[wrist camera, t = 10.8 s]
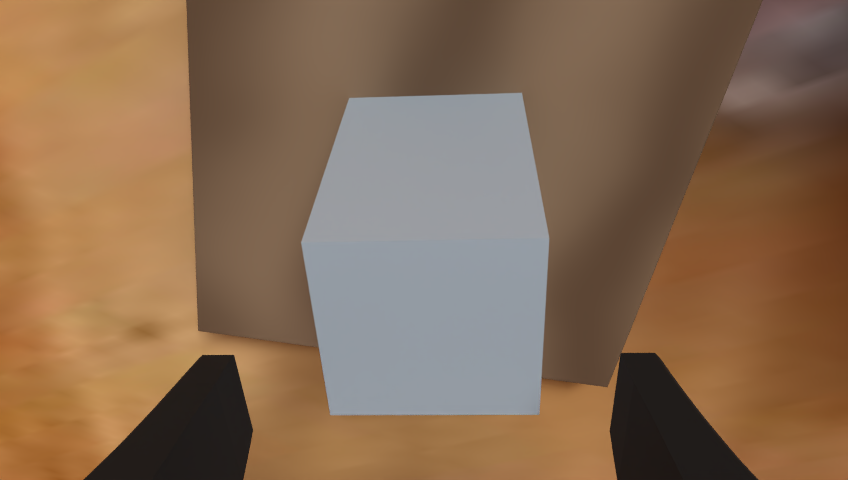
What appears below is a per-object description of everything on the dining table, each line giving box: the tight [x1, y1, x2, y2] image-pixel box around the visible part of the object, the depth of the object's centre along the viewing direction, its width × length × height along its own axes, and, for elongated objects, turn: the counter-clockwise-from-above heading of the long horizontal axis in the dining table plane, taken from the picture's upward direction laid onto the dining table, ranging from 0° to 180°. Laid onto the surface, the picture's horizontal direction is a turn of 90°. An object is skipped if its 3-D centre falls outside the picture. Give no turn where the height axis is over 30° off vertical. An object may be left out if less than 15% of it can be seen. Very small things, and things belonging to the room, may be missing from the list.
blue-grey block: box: [301, 93, 549, 415], centre depth 18 cm, size 5×5×7 cm
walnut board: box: [186, 0, 763, 387], centre depth 21 cm, size 14×14×2 cm
